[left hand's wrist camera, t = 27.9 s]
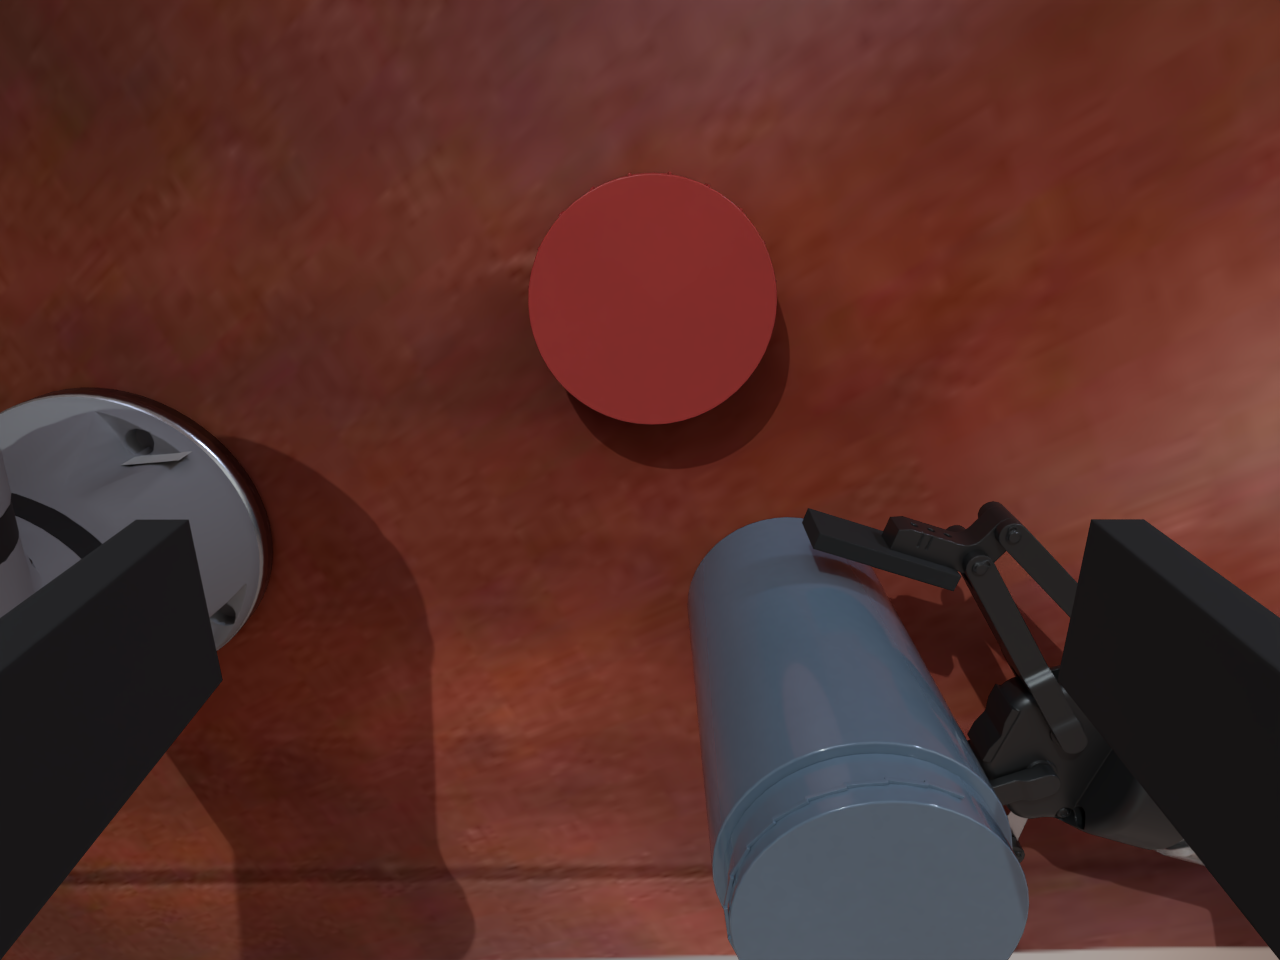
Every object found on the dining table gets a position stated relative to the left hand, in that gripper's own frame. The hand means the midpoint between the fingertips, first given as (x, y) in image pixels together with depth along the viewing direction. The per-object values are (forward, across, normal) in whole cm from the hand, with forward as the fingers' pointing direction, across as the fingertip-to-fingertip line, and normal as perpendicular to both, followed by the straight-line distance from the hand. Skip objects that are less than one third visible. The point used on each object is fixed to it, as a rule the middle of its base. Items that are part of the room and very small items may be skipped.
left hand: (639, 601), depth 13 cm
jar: (+29, +8, -16) cm, 34 cm away
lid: (+27, +1, 0) cm, 27 cm away
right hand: (+22, +5, -15) cm, 28 cm away
